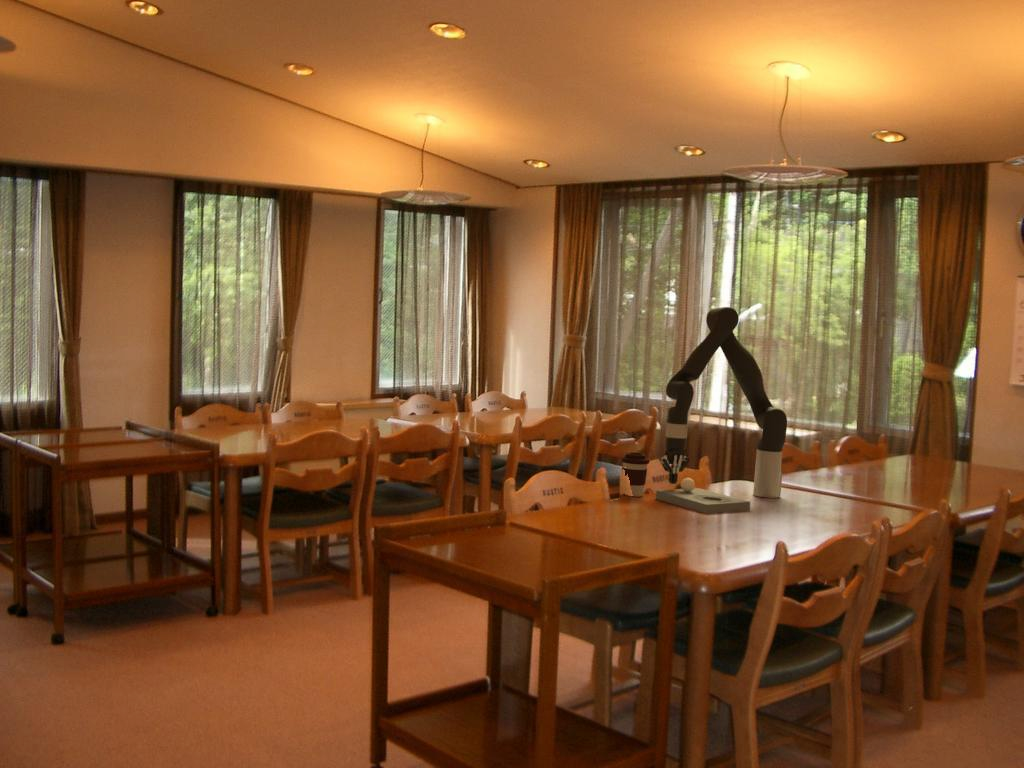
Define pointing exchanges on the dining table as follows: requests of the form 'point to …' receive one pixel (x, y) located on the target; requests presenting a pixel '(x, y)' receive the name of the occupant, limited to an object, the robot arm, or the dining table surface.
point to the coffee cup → (636, 471)
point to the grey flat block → (703, 500)
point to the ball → (687, 484)
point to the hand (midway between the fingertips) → (672, 483)
